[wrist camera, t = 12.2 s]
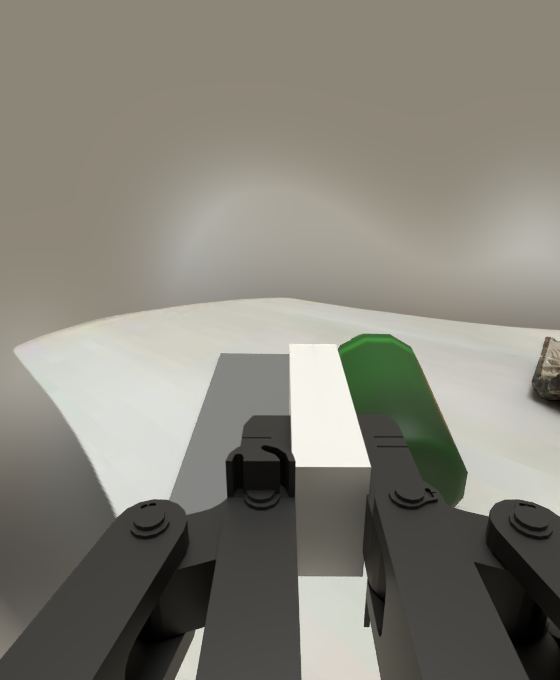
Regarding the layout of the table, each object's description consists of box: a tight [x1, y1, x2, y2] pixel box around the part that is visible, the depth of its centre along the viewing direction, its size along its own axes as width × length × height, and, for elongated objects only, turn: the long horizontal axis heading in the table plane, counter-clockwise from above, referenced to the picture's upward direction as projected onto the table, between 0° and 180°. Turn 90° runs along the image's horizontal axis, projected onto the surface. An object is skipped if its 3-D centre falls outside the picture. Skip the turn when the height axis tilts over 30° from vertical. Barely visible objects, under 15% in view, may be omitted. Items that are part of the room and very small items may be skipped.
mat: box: [169, 353, 289, 515], centre depth 55 cm, size 36×22×1 cm, turn 179°
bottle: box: [338, 334, 468, 508], centre depth 47 cm, size 11×11×28 cm
